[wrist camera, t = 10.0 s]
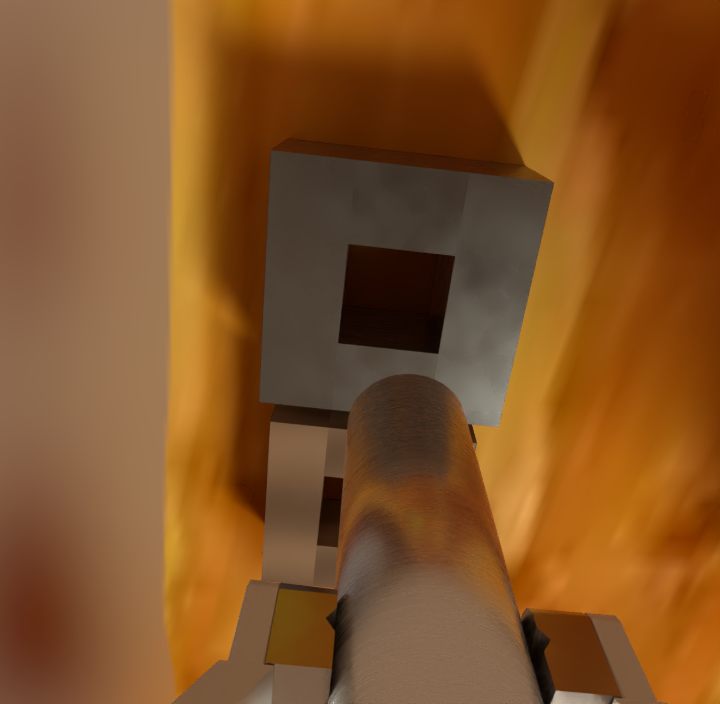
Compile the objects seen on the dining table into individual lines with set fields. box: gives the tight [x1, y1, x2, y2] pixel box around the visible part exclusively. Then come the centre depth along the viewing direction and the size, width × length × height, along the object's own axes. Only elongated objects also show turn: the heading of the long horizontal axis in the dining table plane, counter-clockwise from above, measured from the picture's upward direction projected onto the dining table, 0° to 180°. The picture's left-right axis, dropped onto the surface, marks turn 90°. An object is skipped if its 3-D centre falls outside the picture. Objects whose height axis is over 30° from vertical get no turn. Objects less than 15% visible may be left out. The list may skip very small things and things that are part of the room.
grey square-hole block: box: [259, 139, 554, 427], centre depth 28 cm, size 11×11×5 cm
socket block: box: [261, 404, 477, 588], centre depth 34 cm, size 10×10×4 cm
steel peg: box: [326, 374, 544, 704], centre depth 12 cm, size 3×3×11 cm
